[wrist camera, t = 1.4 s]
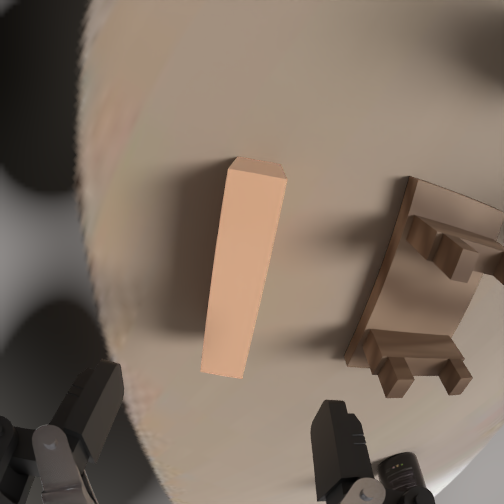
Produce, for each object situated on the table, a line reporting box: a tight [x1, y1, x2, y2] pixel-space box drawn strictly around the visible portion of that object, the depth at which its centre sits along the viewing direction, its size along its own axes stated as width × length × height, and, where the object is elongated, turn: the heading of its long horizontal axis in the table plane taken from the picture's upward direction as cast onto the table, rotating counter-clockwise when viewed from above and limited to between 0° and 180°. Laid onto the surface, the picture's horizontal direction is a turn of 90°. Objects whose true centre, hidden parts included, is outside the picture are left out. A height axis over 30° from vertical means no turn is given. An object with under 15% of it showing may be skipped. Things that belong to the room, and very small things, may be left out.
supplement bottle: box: [377, 452, 426, 492], centre depth 31 cm, size 7×7×12 cm
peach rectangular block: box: [200, 157, 287, 379], centre depth 21 cm, size 14×3×6 cm, turn 170°
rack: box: [344, 176, 504, 398], centre depth 20 cm, size 17×10×8 cm, turn 170°
